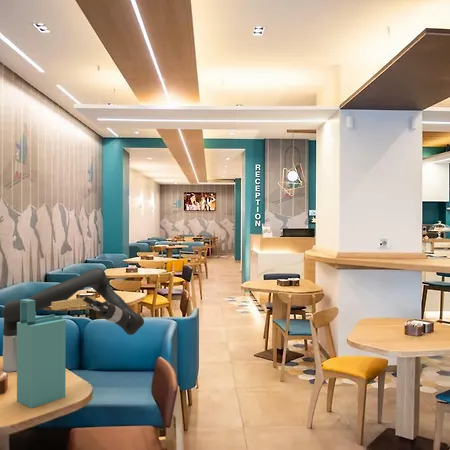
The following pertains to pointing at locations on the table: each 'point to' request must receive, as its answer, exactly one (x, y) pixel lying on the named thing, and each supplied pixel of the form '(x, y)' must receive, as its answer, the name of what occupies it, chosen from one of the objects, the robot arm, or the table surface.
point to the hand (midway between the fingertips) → (82, 298)
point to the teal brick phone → (40, 356)
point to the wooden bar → (70, 303)
